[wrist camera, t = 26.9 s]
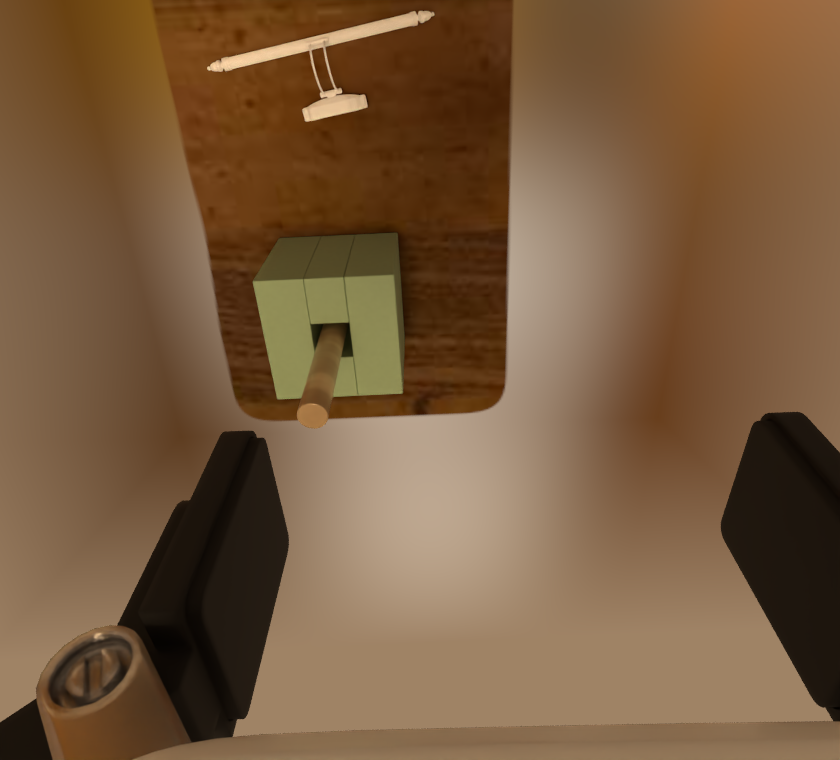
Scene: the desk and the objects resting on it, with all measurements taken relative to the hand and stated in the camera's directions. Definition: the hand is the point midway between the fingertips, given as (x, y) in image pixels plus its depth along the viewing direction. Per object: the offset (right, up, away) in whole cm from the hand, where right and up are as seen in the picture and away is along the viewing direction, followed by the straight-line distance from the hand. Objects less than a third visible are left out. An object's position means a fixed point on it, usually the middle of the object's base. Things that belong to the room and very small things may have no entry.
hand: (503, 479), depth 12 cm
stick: (-7, +8, +32) cm, 34 cm away
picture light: (-7, +21, +25) cm, 33 cm away
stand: (-7, +9, +32) cm, 34 cm away
